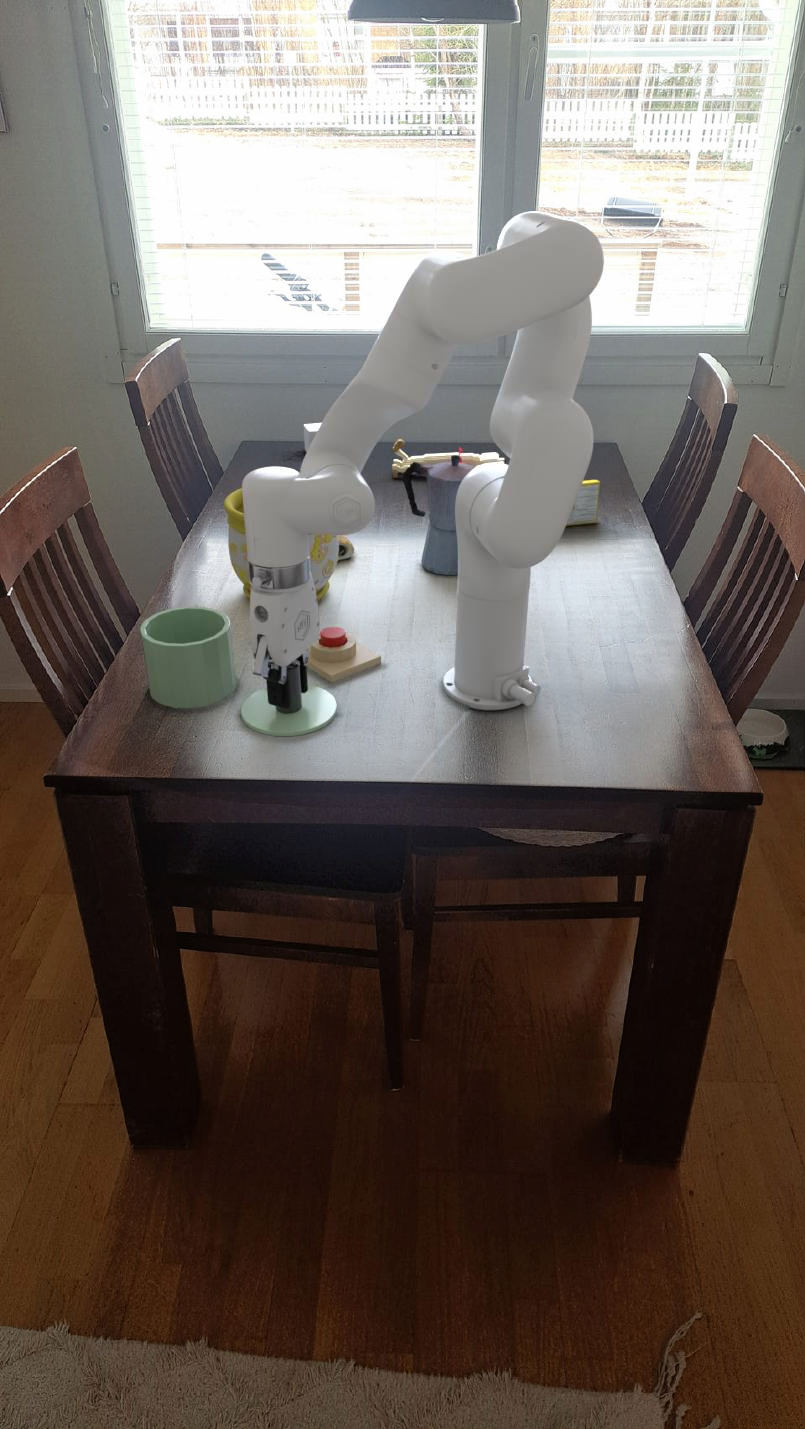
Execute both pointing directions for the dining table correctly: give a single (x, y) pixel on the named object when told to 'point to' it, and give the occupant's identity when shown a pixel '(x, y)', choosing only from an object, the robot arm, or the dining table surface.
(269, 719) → the lid
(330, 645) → the button
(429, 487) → the moka pot
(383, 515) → the dining table surface
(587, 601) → the dining table surface
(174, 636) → the mint green cup
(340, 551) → the pastry
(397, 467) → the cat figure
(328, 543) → the flowerpot
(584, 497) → the candy box
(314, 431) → the white cube
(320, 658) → the switch block
